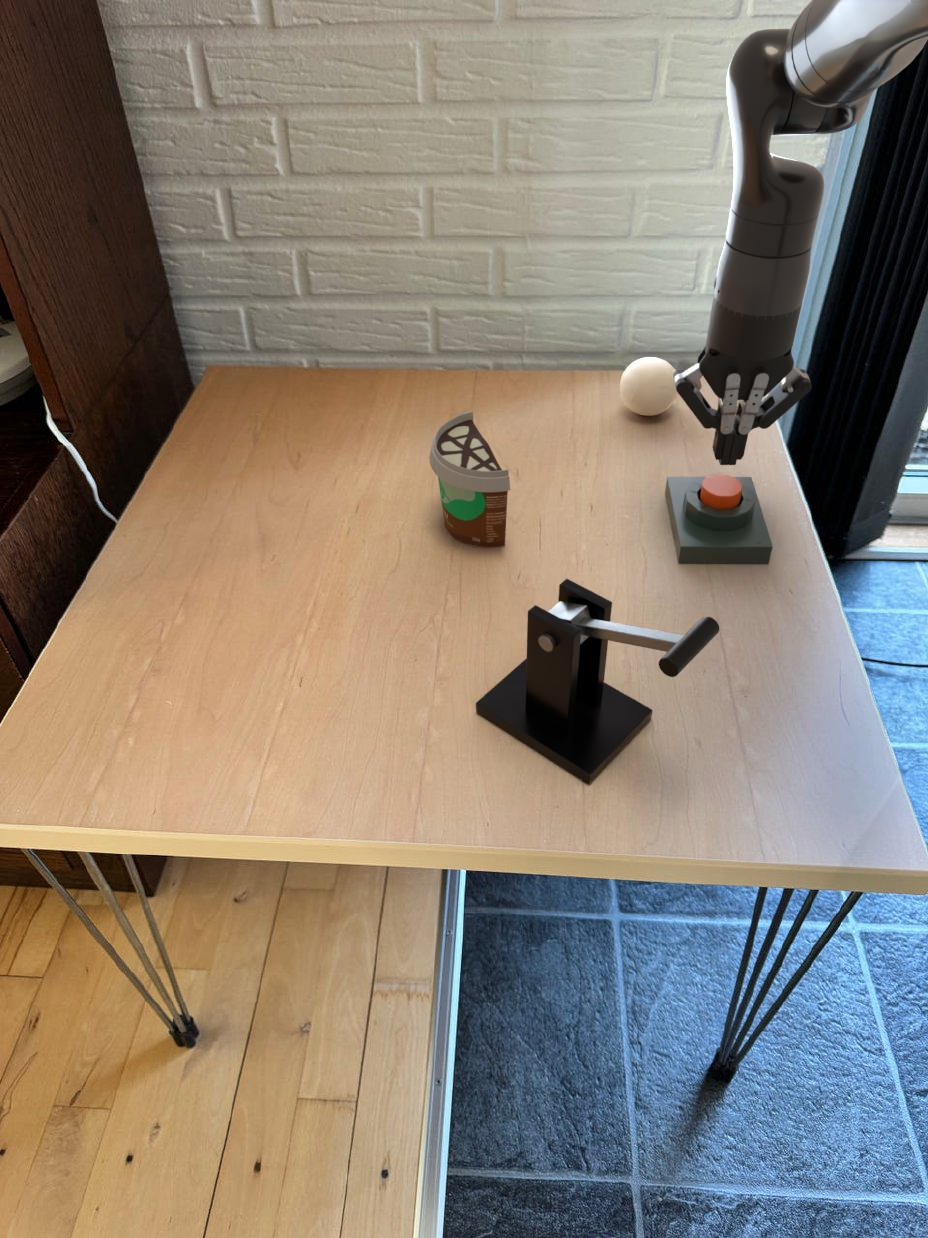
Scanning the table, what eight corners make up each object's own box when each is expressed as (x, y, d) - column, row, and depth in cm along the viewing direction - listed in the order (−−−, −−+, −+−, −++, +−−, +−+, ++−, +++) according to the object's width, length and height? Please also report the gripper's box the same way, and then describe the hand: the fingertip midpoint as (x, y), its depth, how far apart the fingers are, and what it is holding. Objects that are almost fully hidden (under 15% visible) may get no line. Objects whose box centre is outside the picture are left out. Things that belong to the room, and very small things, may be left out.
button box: (768, 564, 97) (776, 532, 94) (678, 563, 97) (683, 532, 94) (748, 493, 105) (754, 462, 102) (664, 493, 106) (669, 462, 103)
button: (742, 510, 97) (745, 496, 96) (702, 510, 97) (705, 496, 96) (736, 487, 100) (739, 473, 99) (697, 487, 100) (699, 473, 99)
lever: (722, 640, 69) (716, 612, 68) (681, 684, 66) (674, 655, 65) (579, 615, 78) (572, 590, 77) (537, 652, 75) (529, 626, 74)
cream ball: (688, 416, 117) (696, 366, 112) (636, 430, 115) (642, 380, 110) (658, 390, 121) (664, 341, 117) (608, 404, 119) (612, 354, 115)
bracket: (651, 719, 82) (669, 609, 73) (588, 785, 77) (599, 675, 69) (540, 655, 88) (544, 546, 79) (475, 712, 83) (472, 603, 75)
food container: (419, 498, 106) (414, 419, 99) (472, 487, 107) (471, 408, 101) (452, 566, 98) (448, 485, 91) (509, 553, 99) (510, 472, 92)
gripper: (686, 313, 81) (663, 482, 93) (846, 312, 81) (802, 483, 92) (676, 274, 87) (655, 439, 98) (826, 273, 86) (786, 439, 98)
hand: (726, 460), depth 95 cm, fingers closed
